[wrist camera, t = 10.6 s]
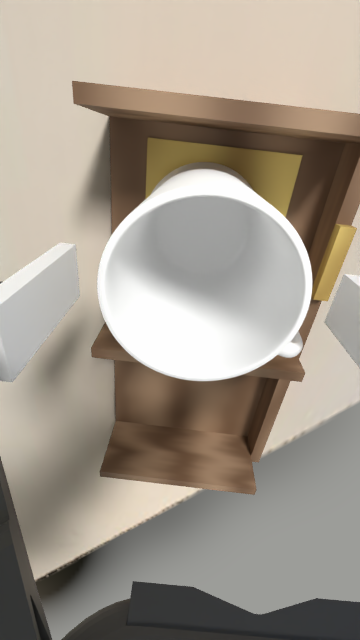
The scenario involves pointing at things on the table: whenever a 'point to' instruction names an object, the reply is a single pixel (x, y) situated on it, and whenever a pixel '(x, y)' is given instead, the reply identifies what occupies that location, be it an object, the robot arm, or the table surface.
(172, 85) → the table surface
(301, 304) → the mug
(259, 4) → the table surface
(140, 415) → the rack
